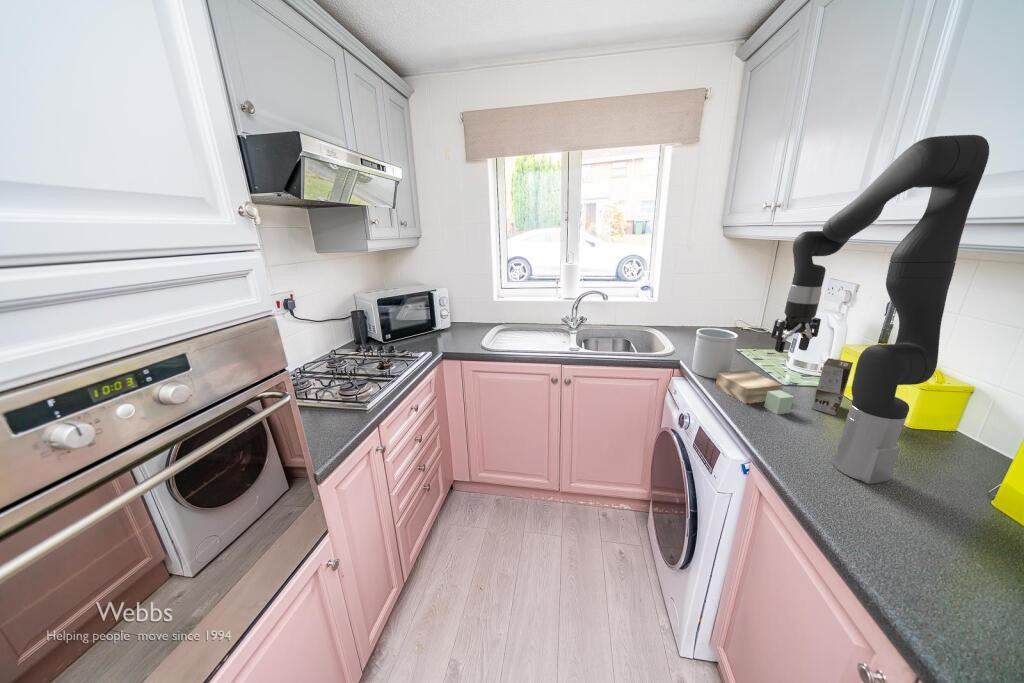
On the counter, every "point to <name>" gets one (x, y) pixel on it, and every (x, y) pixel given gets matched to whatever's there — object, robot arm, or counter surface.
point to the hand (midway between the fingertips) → (790, 350)
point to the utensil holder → (713, 351)
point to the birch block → (746, 385)
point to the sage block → (778, 402)
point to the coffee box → (832, 385)
